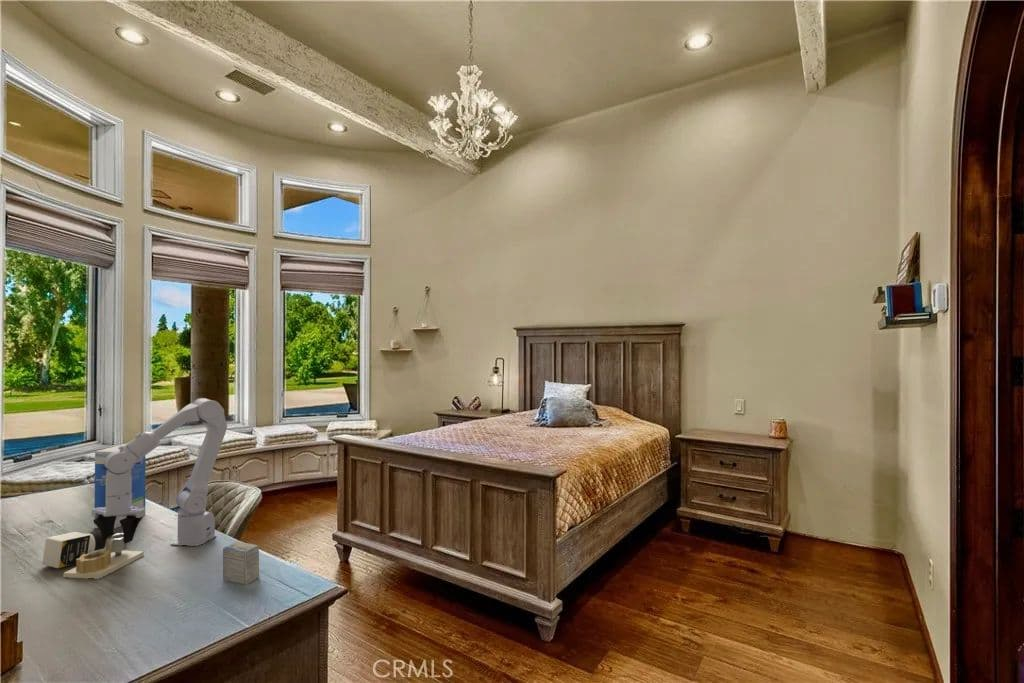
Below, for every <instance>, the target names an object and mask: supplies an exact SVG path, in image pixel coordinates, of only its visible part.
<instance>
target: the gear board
mask: <svg viewBox="0 0 1024 683" xmlns="http://www.w3.org/2000/svg"><path fill="white" fill-rule="evenodd" d="M144 555H145V551H144V550H143V551H141V550H124V551H121V552H118V553H117V552H113V553H111V551H110V552H108V551H107V550H106V549H103V550H102V551H97V552H96V551H93V552H92V553H88V554H83V555H81V556H80V558H78V559H76V564H75V565H76V567H73V568H70V570H67V571H65V572H63V578H66V577H68V578H67V579H69V578H70V579H71V578H73V579H88V578H94V579H93V580H100V579H102V578H104V577H106V576H107V574H108V575H109V573H110V574H111V573H113V572H115V571H116V570H119V569H121V568H123V567H125V566H126V565H129V564H130V563H132V562H134V561H136V560H138V559H141V558H143V557H145V556H144ZM105 575H106V576H105ZM103 576H104V577H103ZM101 577H102V578H101ZM99 578H100V579H99Z"/></svg>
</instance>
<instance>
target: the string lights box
mask: <svg viewBox="0 0 1024 683" xmlns="http://www.w3.org/2000/svg"><path fill="white" fill-rule="evenodd" d="M127 443H128V442H126V443H123V444H118V445H115V446H112V447H107V448H103V449H99V450H94V509H95V508H98V507H106V478H107V476H106V473H107V470H108V469H107V468H106V467H105V465H104V461H105V459H106V457H107V456H108V455H109V454H110V453H112V452H114V451H118V450H119V449H118V447H120V446H124V445H126V444H127ZM131 476H132V487H131V492H132V493H131V506H133V507H137V508H141V509H145V510H146V455H145V456H144V457H142V458H141V459H139V460H138V461H136V462H135V463H134V466H133V467H132V469H131ZM97 517H98V516H94V519H97ZM124 518H126V516H117V517H116V520H115V524H114V528H115V529H117V528H119V527H122V526H121V524H120V520H122V519H124ZM93 525H94V526H93V528H94V529H99V528H98V527H97V525H96V524H95V523H94V522H93Z"/></svg>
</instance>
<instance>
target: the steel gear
mask: <svg viewBox="0 0 1024 683" xmlns="http://www.w3.org/2000/svg"><path fill="white" fill-rule="evenodd" d="M131 543H132V541H131V542H129V543H124V539H123V532H117V533H115V534H114V535H110V536H108V538H106V544H105V550H107V551H108V552H110V551H111V553H113V552H117V553H118V552H121V551H129V548H131V545H132V544H131Z"/></svg>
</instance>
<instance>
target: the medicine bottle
mask: <svg viewBox="0 0 1024 683" xmlns="http://www.w3.org/2000/svg"><path fill="white" fill-rule="evenodd" d="M105 548H106V543H104V541H103V538H102V535H101V532H100V530H99V531H94V532H91V533H83V532H80V531H73V532H67V533H63V534H58V535H54V536H48V537H46V539H45V543H44V548H43V550H44V551H43V556H42V557H43V558H42V563H41V564H42V565H45V566H48V567H52V568H56V569H60V568H65V567H68V566H69V567H70V566H73V565H76V559H78V558H80V556H81V555H83V554H88V553H92V552H93V551H96V552H97V551H103V550H105Z"/></svg>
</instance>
